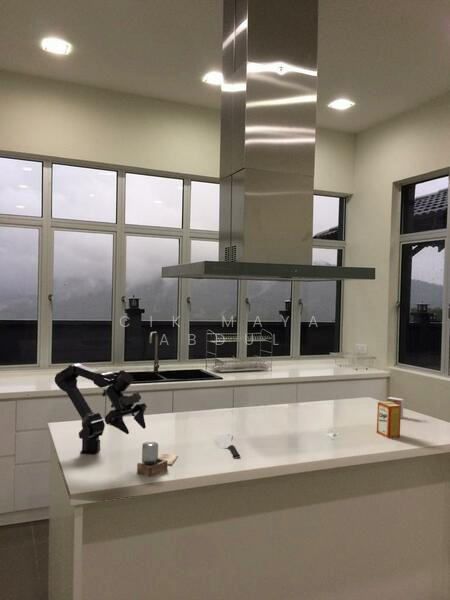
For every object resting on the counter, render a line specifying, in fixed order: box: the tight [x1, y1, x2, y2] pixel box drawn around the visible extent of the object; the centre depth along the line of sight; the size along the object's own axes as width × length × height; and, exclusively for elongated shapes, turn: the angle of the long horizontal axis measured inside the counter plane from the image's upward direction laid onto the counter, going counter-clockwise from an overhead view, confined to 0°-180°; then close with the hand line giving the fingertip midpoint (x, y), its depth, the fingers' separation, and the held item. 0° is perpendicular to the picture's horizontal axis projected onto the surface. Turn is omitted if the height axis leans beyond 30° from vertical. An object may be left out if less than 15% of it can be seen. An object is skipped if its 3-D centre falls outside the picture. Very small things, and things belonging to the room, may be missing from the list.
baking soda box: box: [376, 400, 402, 439], centre depth 244 cm, size 10×6×16 cm
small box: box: [386, 396, 405, 419], centre depth 281 cm, size 8×6×10 cm
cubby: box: [136, 458, 168, 478], centre depth 187 cm, size 7×10×4 cm
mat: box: [158, 452, 178, 467], centre depth 200 cm, size 12×11×1 cm
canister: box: [141, 441, 159, 466], centre depth 188 cm, size 6×6×10 cm
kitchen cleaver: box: [214, 433, 241, 459], centre depth 220 cm, size 31×2×10 cm
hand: (136, 430), depth 192 cm, fingers open, 9 cm apart
